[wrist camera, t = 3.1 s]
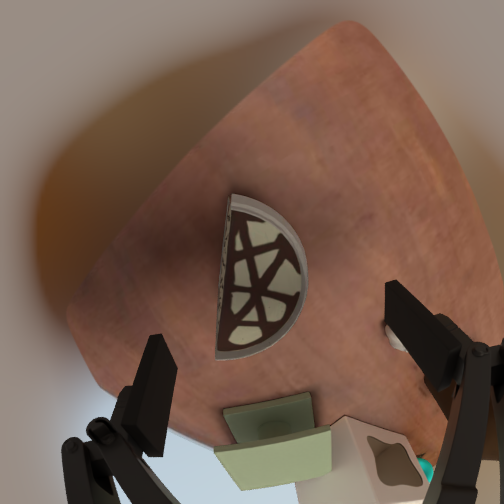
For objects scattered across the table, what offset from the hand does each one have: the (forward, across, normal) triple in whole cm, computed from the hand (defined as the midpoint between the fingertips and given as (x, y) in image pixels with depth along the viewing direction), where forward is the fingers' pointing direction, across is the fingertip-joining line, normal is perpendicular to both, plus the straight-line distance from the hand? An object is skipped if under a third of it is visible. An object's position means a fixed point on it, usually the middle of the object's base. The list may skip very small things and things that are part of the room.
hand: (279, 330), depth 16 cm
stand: (+14, -3, -28) cm, 31 cm away
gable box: (+14, +10, -43) cm, 46 cm away
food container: (+14, 0, 0) cm, 14 cm away
